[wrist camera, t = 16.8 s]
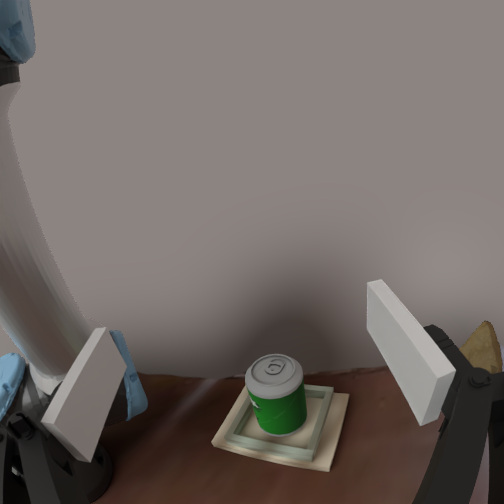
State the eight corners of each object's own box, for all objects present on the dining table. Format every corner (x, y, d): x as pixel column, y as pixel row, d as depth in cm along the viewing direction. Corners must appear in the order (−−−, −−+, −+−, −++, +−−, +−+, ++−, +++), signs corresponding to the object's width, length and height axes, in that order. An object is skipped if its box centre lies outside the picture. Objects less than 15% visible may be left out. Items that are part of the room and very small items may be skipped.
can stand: (214, 446, 39) (207, 435, 37) (249, 386, 50) (245, 373, 49) (329, 471, 31) (329, 461, 30) (348, 399, 43) (349, 386, 41)
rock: (516, 378, 30) (498, 338, 38) (510, 360, 28) (487, 316, 36) (465, 411, 35) (452, 369, 44) (452, 399, 33) (437, 352, 41)
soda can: (314, 408, 41) (310, 354, 37) (296, 445, 35) (288, 396, 31) (271, 398, 45) (259, 345, 41) (250, 432, 39) (232, 382, 35)
